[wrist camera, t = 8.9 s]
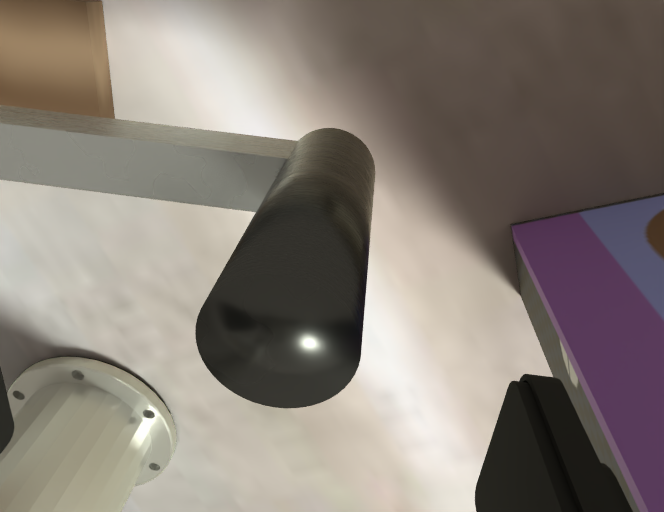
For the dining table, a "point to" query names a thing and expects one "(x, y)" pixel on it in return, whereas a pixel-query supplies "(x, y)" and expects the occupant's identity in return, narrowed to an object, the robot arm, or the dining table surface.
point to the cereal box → (605, 329)
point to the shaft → (256, 243)
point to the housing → (55, 57)
